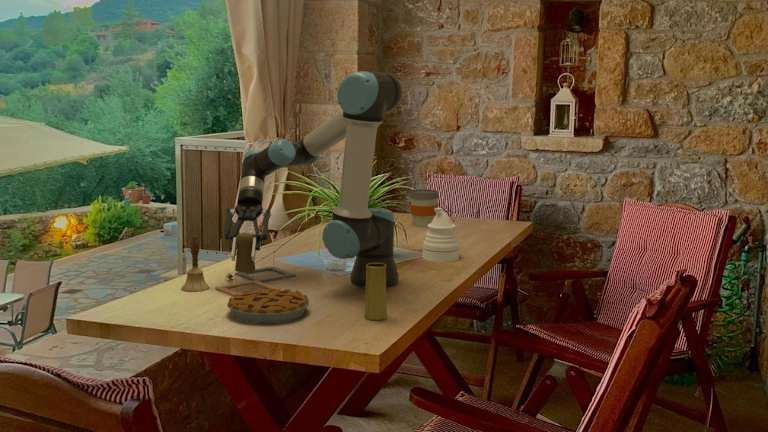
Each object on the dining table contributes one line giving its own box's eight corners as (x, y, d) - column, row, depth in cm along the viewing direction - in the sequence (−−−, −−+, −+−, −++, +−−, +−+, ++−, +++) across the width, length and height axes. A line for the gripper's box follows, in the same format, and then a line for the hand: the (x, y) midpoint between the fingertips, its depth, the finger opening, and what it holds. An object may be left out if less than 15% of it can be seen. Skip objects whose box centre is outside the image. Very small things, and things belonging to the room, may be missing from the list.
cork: (251, 272, 236) (250, 236, 234) (231, 271, 237) (231, 234, 235) (258, 268, 242) (258, 232, 240) (239, 266, 243) (238, 231, 241)
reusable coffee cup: (442, 224, 352) (442, 190, 350) (431, 229, 341) (432, 194, 338) (415, 222, 357) (416, 188, 355) (404, 226, 346) (405, 192, 343)
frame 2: (296, 276, 257) (296, 274, 257) (258, 283, 248) (258, 281, 248) (272, 268, 268) (272, 266, 267) (235, 274, 258) (235, 272, 258)
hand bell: (214, 286, 244) (213, 234, 241) (200, 293, 236) (198, 239, 233) (191, 283, 246) (189, 232, 244) (175, 290, 239) (173, 237, 236)
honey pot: (440, 263, 278) (442, 212, 275) (415, 257, 287) (416, 207, 284) (466, 258, 286) (467, 208, 283) (440, 252, 295) (441, 203, 292)
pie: (240, 301, 229) (240, 284, 228) (316, 304, 226) (316, 287, 226) (216, 324, 207) (216, 305, 206) (300, 327, 205) (300, 308, 204)
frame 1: (280, 291, 239) (280, 289, 239) (239, 298, 230) (239, 296, 230) (255, 281, 250) (255, 279, 249) (214, 289, 240) (214, 287, 240)
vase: (363, 314, 217) (363, 262, 214) (386, 313, 217) (386, 262, 215) (364, 320, 211) (365, 267, 208) (388, 320, 211) (388, 267, 209)
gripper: (281, 202, 251) (275, 265, 238) (222, 201, 251) (213, 264, 238) (279, 187, 245) (273, 252, 232) (219, 186, 245) (209, 251, 232)
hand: (243, 258), depth 235 cm, fingers closed on cork, 5 cm apart
